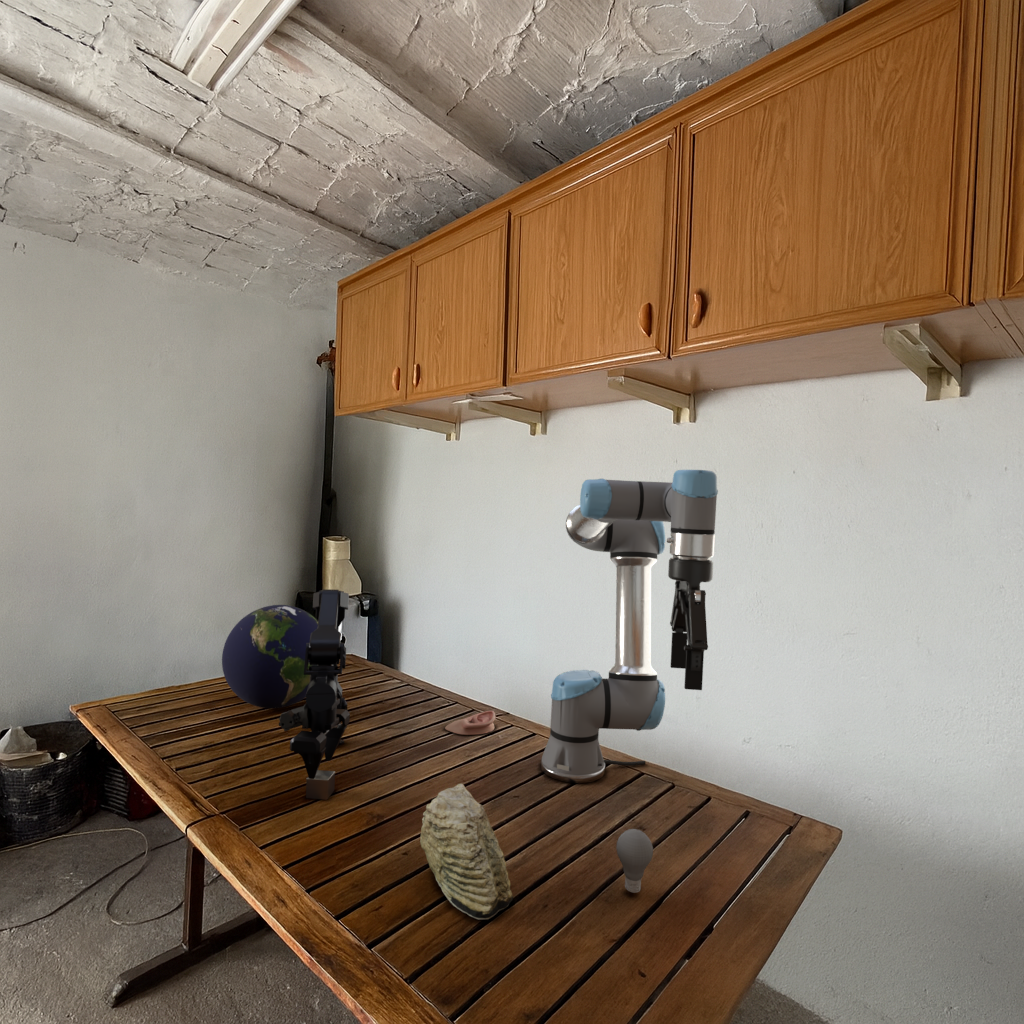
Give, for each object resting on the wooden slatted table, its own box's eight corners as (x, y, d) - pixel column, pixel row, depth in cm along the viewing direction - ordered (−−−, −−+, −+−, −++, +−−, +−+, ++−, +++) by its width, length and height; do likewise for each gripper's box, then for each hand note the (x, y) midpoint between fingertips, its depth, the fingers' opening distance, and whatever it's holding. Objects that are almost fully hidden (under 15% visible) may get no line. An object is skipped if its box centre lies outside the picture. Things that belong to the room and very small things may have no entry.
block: (313, 788, 137) (314, 769, 137) (334, 790, 137) (335, 771, 137) (305, 798, 133) (306, 778, 133) (326, 800, 133) (327, 780, 132)
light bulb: (610, 879, 108) (613, 822, 108) (644, 879, 109) (647, 822, 109) (619, 902, 102) (622, 840, 102) (655, 901, 103) (658, 840, 103)
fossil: (447, 853, 114) (450, 771, 114) (521, 902, 101) (525, 809, 101) (406, 873, 108) (410, 785, 107) (480, 928, 95) (484, 828, 94)
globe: (289, 685, 209) (292, 594, 208) (348, 705, 191) (352, 606, 191) (199, 706, 185) (203, 604, 184) (258, 732, 167) (262, 619, 167)
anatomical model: (442, 717, 173) (454, 704, 184) (441, 732, 173) (453, 718, 184) (489, 723, 170) (498, 710, 181) (488, 738, 170) (498, 723, 181)
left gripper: (304, 681, 145) (301, 749, 145) (266, 707, 126) (263, 785, 126) (351, 684, 144) (349, 753, 144) (320, 711, 125) (317, 790, 125)
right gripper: (658, 551, 124) (653, 658, 124) (682, 563, 99) (676, 698, 100) (697, 553, 123) (692, 661, 124) (731, 565, 99) (725, 701, 99)
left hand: (320, 769), depth 135 cm, fingers open, 9 cm apart
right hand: (685, 678), depth 112 cm, fingers open, 13 cm apart
